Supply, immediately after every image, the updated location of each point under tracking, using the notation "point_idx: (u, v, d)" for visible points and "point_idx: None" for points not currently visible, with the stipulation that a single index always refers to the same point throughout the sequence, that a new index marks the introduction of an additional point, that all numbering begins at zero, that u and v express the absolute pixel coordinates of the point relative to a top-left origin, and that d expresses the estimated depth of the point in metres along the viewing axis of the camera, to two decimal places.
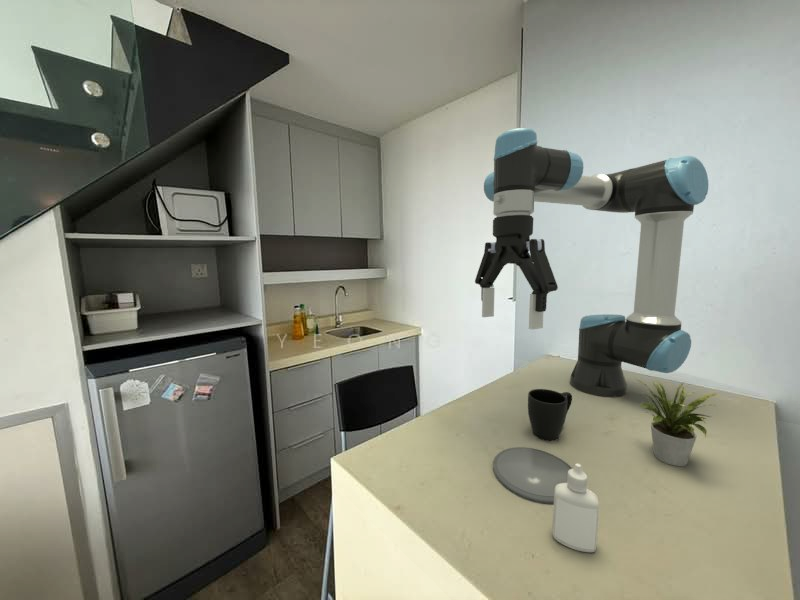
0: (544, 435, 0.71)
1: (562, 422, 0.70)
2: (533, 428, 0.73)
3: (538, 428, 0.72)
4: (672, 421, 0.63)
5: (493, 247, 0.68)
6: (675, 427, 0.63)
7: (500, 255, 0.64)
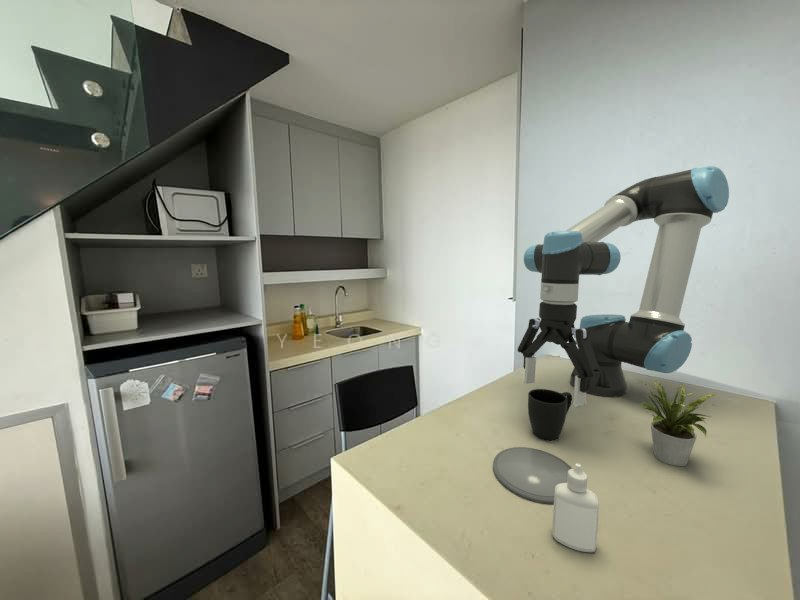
0: (544, 435, 0.71)
1: (562, 422, 0.70)
2: (533, 428, 0.73)
3: (538, 428, 0.72)
4: (672, 421, 0.63)
5: (537, 324, 0.76)
6: (675, 427, 0.63)
7: (545, 334, 0.73)
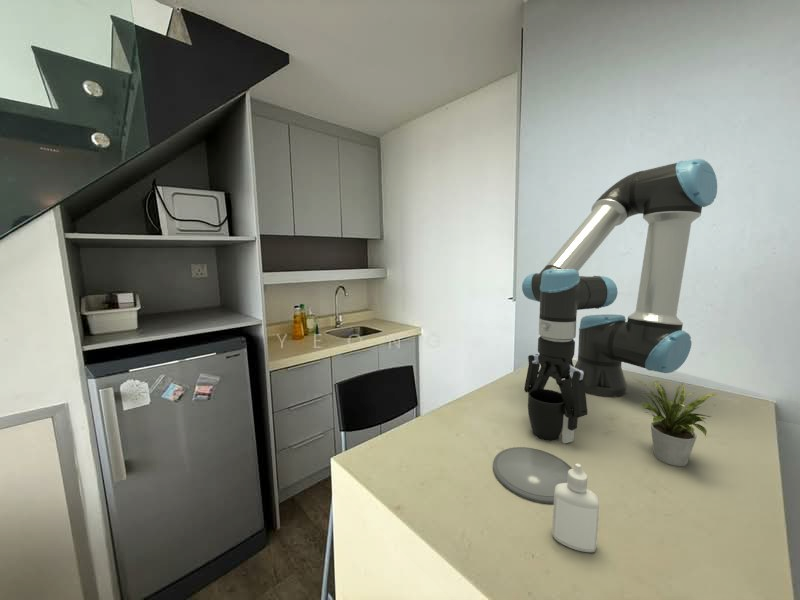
0: (544, 435, 0.71)
1: (562, 422, 0.70)
2: (533, 428, 0.73)
3: (538, 428, 0.72)
4: (672, 421, 0.63)
5: (536, 359, 0.77)
6: (675, 427, 0.63)
7: (545, 369, 0.74)
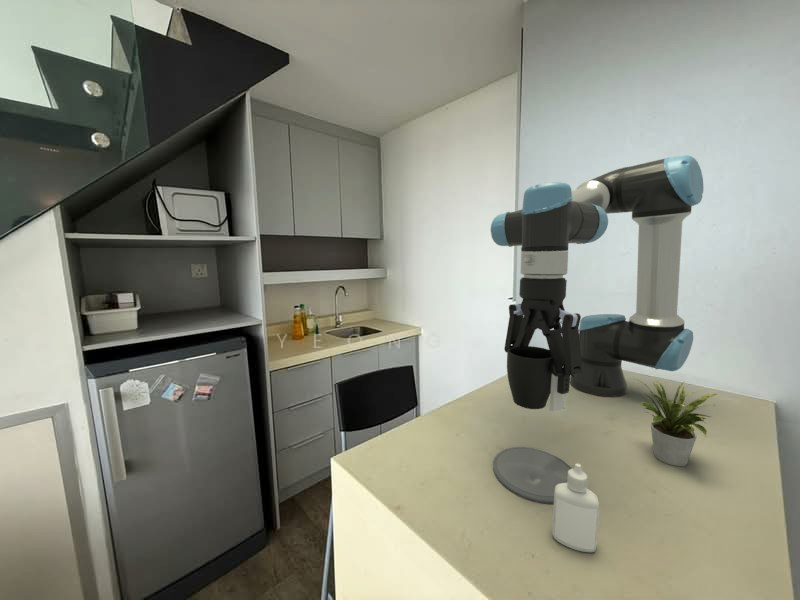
0: (527, 401, 0.55)
1: (550, 384, 0.54)
2: (513, 393, 0.57)
3: (519, 392, 0.56)
4: (672, 421, 0.63)
5: (519, 309, 0.61)
6: (675, 427, 0.63)
7: (529, 318, 0.57)
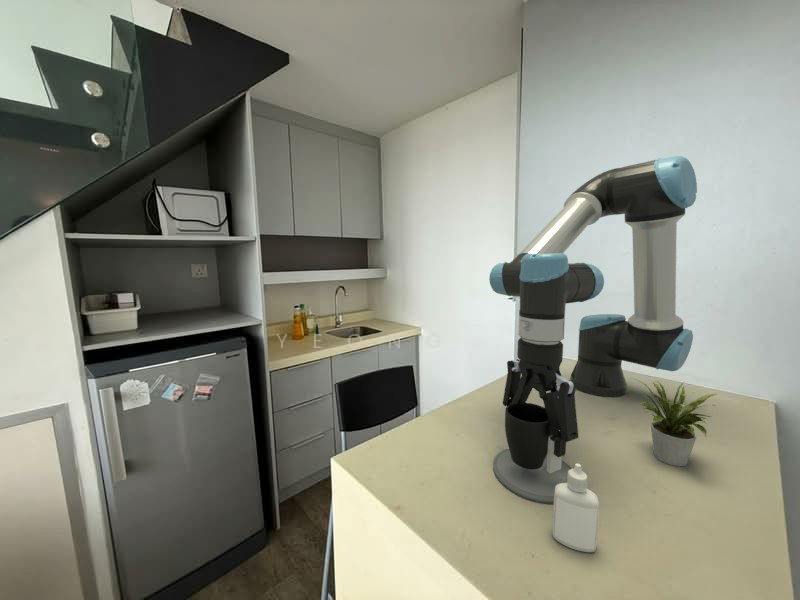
0: (524, 461, 0.57)
1: (547, 446, 0.56)
2: (511, 452, 0.59)
3: (517, 453, 0.57)
4: (672, 421, 0.63)
5: (517, 366, 0.63)
6: (675, 427, 0.63)
7: (527, 379, 0.59)
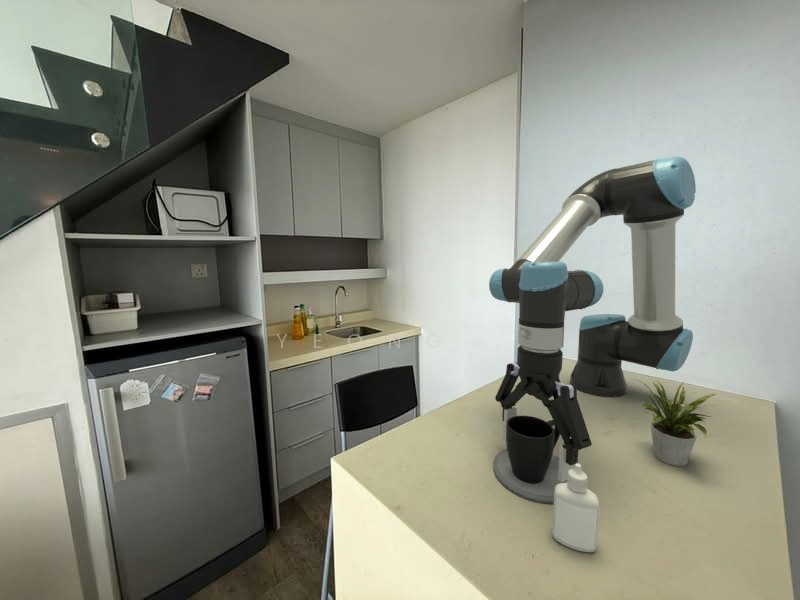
0: (526, 476, 0.57)
1: (548, 460, 0.56)
2: (512, 466, 0.59)
3: (518, 467, 0.57)
4: (672, 421, 0.63)
5: (516, 370, 0.63)
6: (675, 427, 0.63)
7: (525, 386, 0.59)
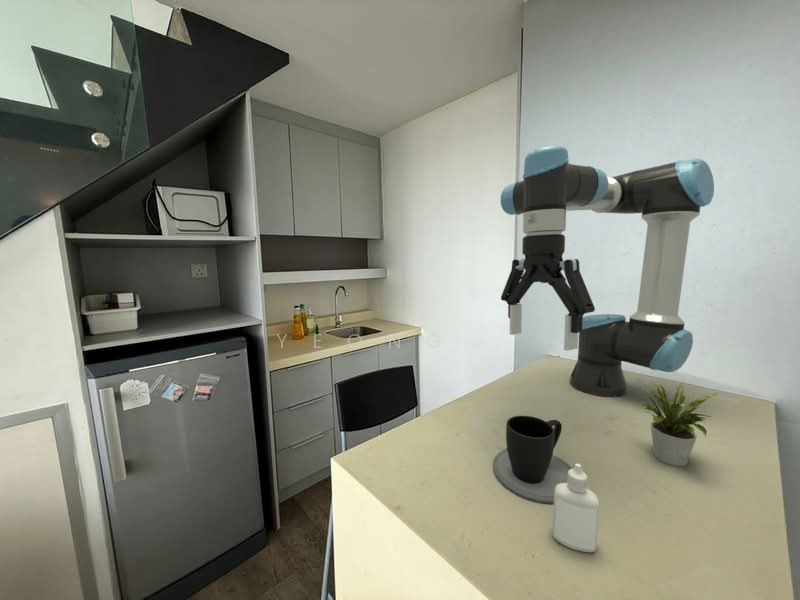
0: (526, 476, 0.57)
1: (548, 461, 0.56)
2: (512, 466, 0.59)
3: (518, 467, 0.57)
4: (672, 421, 0.63)
5: (521, 264, 0.67)
6: (675, 427, 0.63)
7: (530, 274, 0.64)
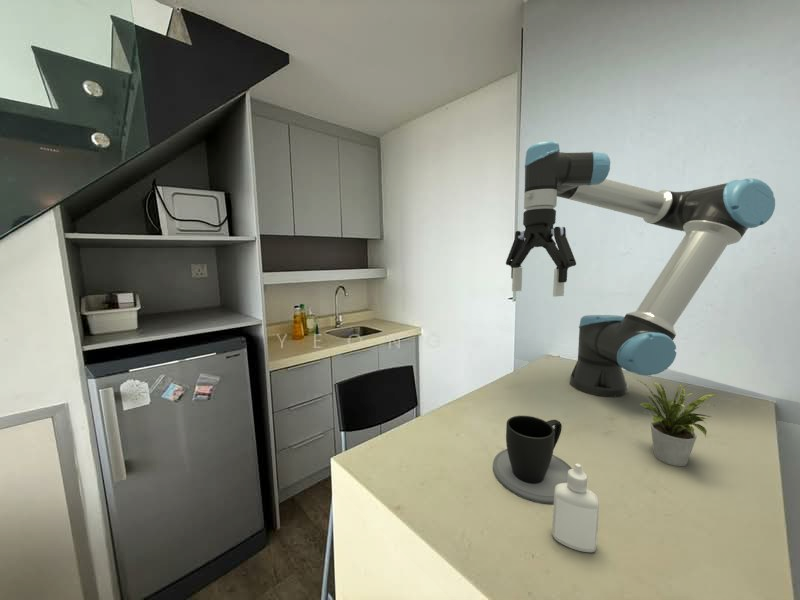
0: (526, 476, 0.57)
1: (548, 460, 0.56)
2: (512, 466, 0.59)
3: (518, 467, 0.57)
4: (672, 421, 0.63)
5: (522, 234, 0.85)
6: (675, 427, 0.63)
7: (529, 240, 0.82)
